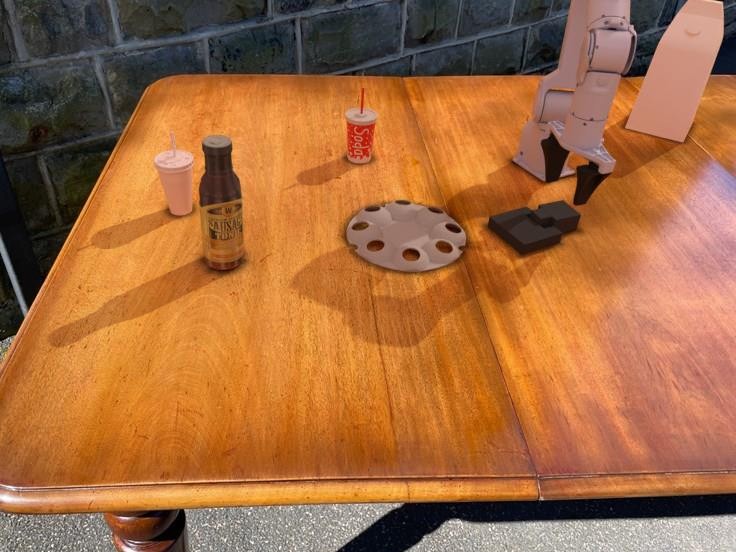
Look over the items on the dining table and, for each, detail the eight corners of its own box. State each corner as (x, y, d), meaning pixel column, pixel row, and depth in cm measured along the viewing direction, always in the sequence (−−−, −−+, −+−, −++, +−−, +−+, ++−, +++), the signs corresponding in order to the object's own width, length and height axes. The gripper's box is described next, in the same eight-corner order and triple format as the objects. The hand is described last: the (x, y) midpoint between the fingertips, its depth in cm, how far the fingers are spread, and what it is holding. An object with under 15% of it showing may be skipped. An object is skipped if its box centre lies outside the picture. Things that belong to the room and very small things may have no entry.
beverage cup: (338, 161, 123) (341, 91, 114) (350, 148, 128) (353, 79, 119) (368, 167, 122) (373, 97, 113) (378, 154, 126) (384, 85, 117)
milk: (692, 123, 142) (743, -1, 125) (682, 142, 134) (736, 12, 117) (636, 110, 146) (678, -12, 130) (624, 128, 139) (668, 1, 122)
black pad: (487, 226, 107) (489, 216, 106) (524, 215, 110) (526, 205, 109) (521, 255, 101) (524, 244, 100) (559, 242, 104) (563, 232, 103)
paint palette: (400, 192, 115) (401, 182, 114) (489, 237, 105) (491, 227, 103) (321, 233, 104) (322, 223, 103) (412, 288, 94) (414, 277, 93)
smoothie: (207, 205, 110) (198, 129, 101) (185, 223, 105) (174, 146, 96) (176, 196, 112) (165, 121, 103) (154, 214, 107) (140, 137, 98)
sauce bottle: (212, 277, 95) (197, 155, 82) (199, 254, 99) (182, 136, 86) (253, 265, 97) (244, 146, 84) (238, 244, 101) (228, 127, 88)
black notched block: (523, 221, 109) (527, 206, 107) (558, 214, 111) (563, 199, 109) (540, 237, 105) (544, 222, 103) (576, 229, 107) (581, 214, 105)
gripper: (643, 130, 91) (614, 210, 100) (580, 92, 102) (559, 168, 110) (603, 136, 89) (577, 218, 98) (543, 97, 100) (524, 174, 108)
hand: (565, 192), depth 104 cm, fingers open, 7 cm apart
